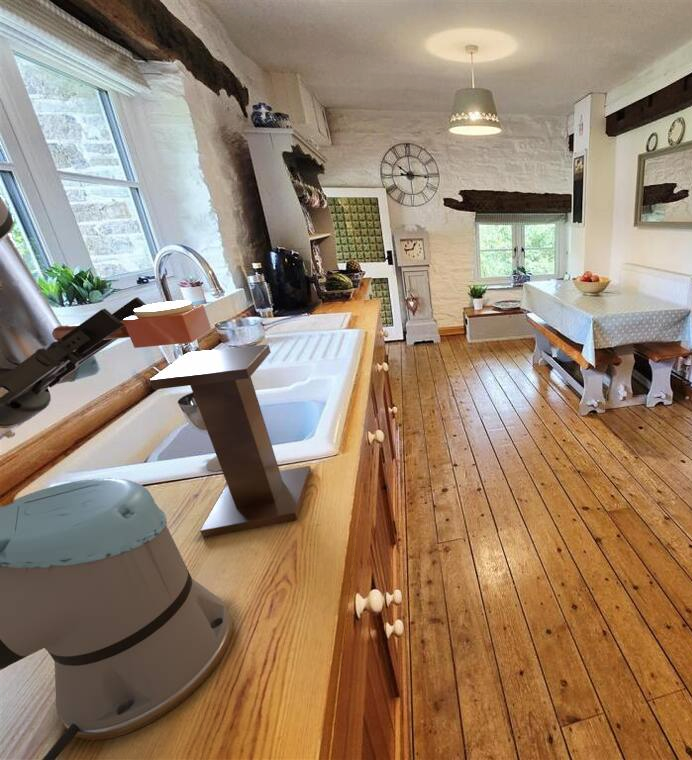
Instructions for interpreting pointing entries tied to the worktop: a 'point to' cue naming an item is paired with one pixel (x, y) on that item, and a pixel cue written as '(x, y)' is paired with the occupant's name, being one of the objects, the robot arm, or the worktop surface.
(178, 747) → the worktop surface
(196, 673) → the robot arm
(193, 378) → the stand
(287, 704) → the worktop surface
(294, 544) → the worktop surface
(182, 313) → the reddish brown long piece
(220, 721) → the worktop surface
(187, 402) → the wine glass
